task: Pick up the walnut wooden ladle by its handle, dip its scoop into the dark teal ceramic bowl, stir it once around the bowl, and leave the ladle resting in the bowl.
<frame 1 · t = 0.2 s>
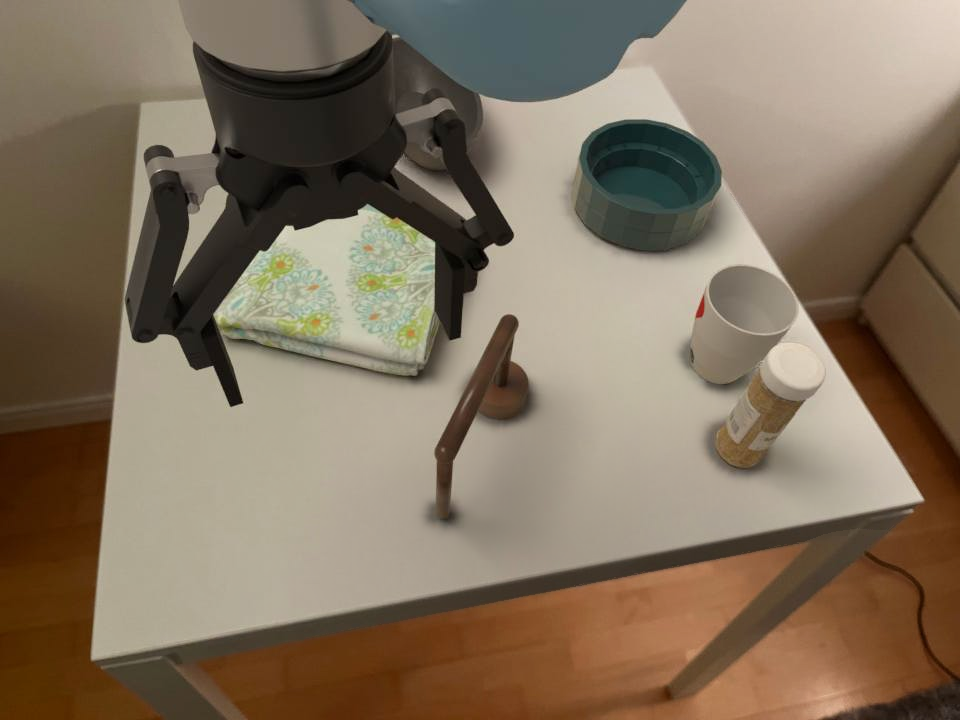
hand: (344, 354, 45), 21 cm above the table, tool pointing down, fingers open, 13 cm apart
towel: (351, 294, 76), on the table
ladle: (442, 514, 62), on the table
sprinkles bottle: (737, 448, 68), on the table
fruit: (251, 140, 88), on the table
cup: (715, 364, 73), on the table
mixing bowl: (637, 204, 86), on the table
bowl: (424, 134, 91), on the table
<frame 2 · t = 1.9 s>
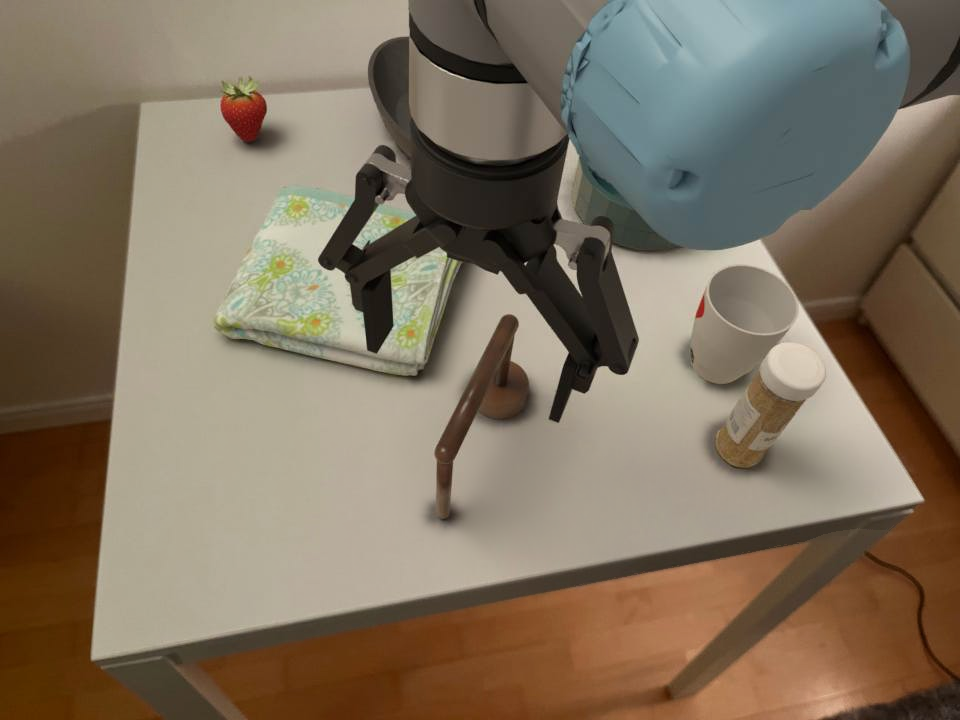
hand: (468, 371, 51), 16 cm above the table, tool pointing down, fingers open, 13 cm apart
nothing on the table moved.
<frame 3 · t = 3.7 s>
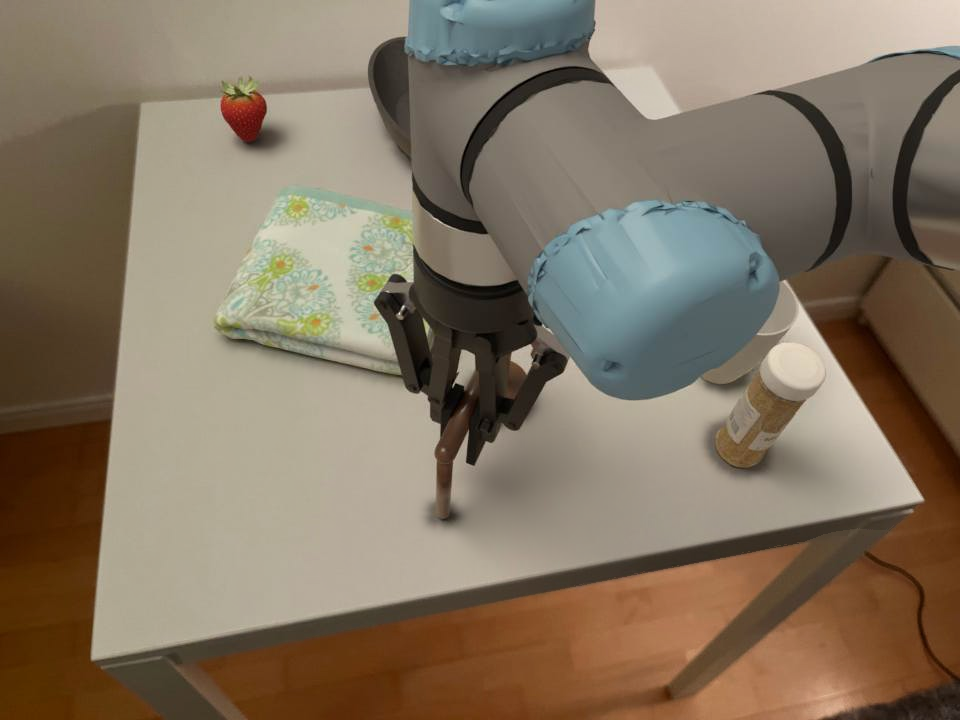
hand: (463, 445, 60), 5 cm above the table, tool pointing down, fingers closed on ladle, 2 cm apart
ladle: (442, 514, 62), on the table, touching gripper
everything else where it was.
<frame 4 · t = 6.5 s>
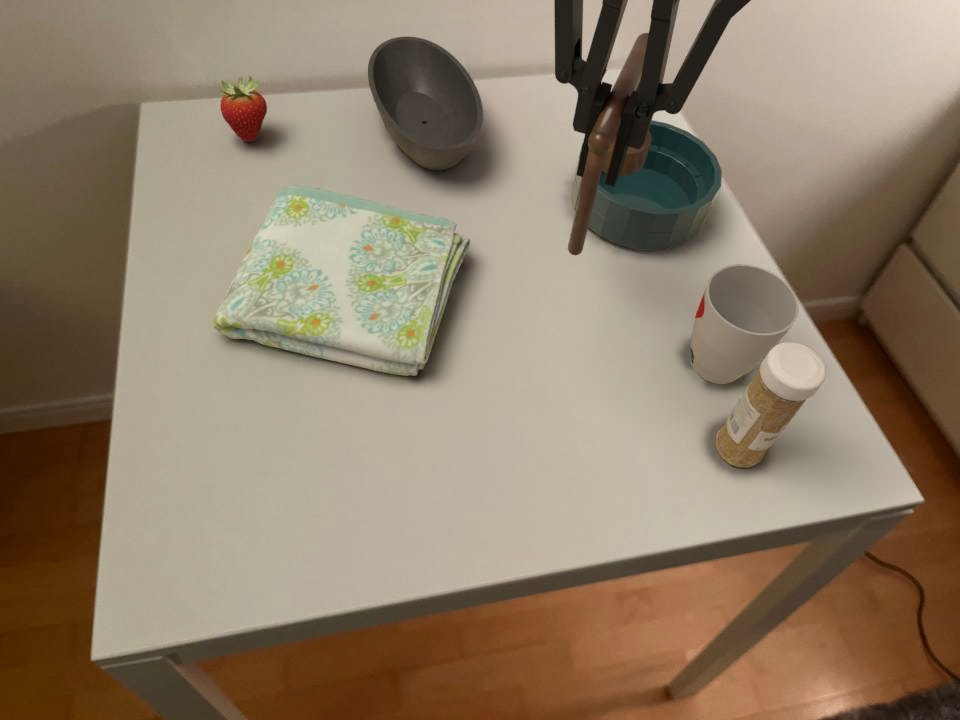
hand: (600, 169, 57), 21 cm above the table, tool pointing down, fingers closed on ladle, 2 cm apart
ladle: (574, 253, 59), point 15 cm above the table, touching gripper
everything else where it was.
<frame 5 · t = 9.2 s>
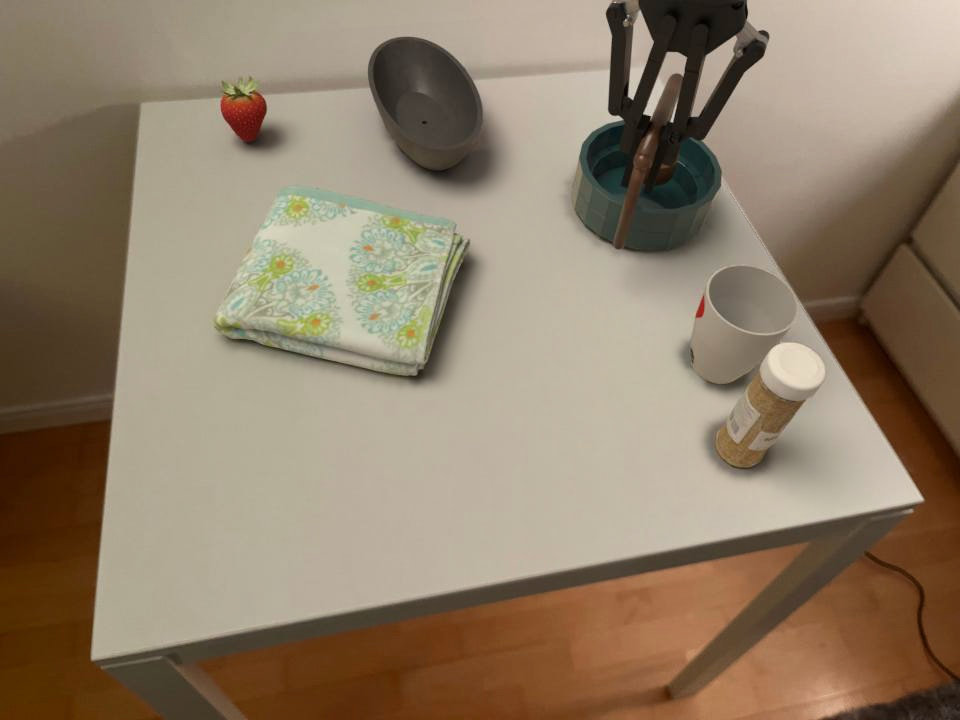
hand: (639, 181, 72), 11 cm above the table, tool pointing down, fingers closed on ladle, 2 cm apart
ladle: (617, 247, 74), point 5 cm above the table, touching gripper
everything else where it was.
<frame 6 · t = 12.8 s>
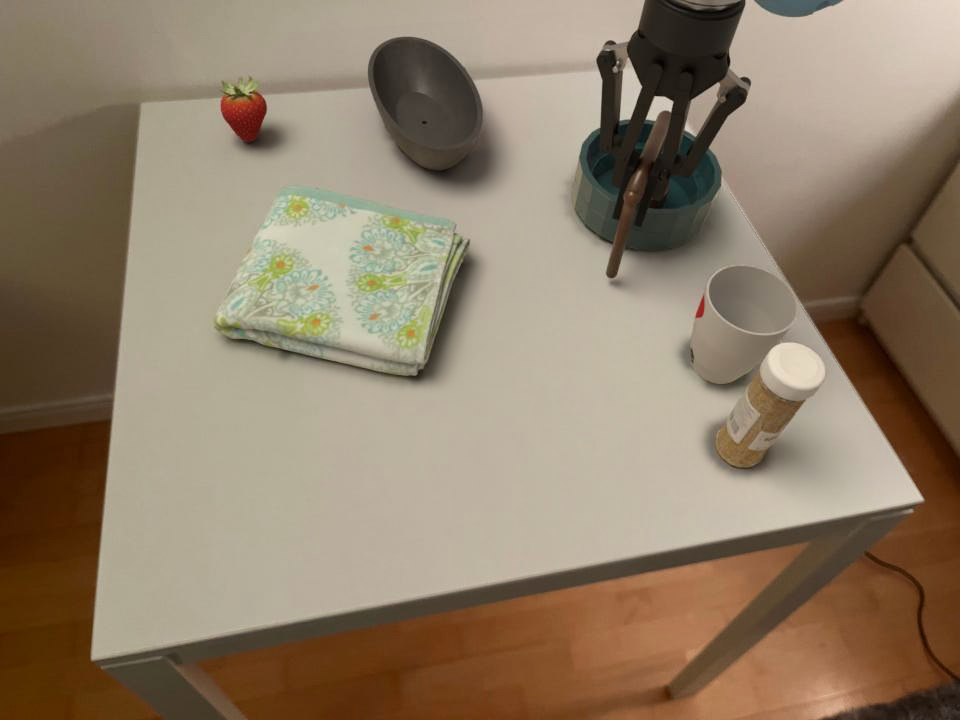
hand: (629, 214, 75), 6 cm above the table, tool pointing down, fingers closed on ladle, 2 cm apart
ladle: (610, 276, 78), point 1 cm above the table, touching gripper
everything else where it was.
when the fingers open (8 cm above the table, at t = 14.6 s): ladle drops 2 cm, resting on mixing bowl.
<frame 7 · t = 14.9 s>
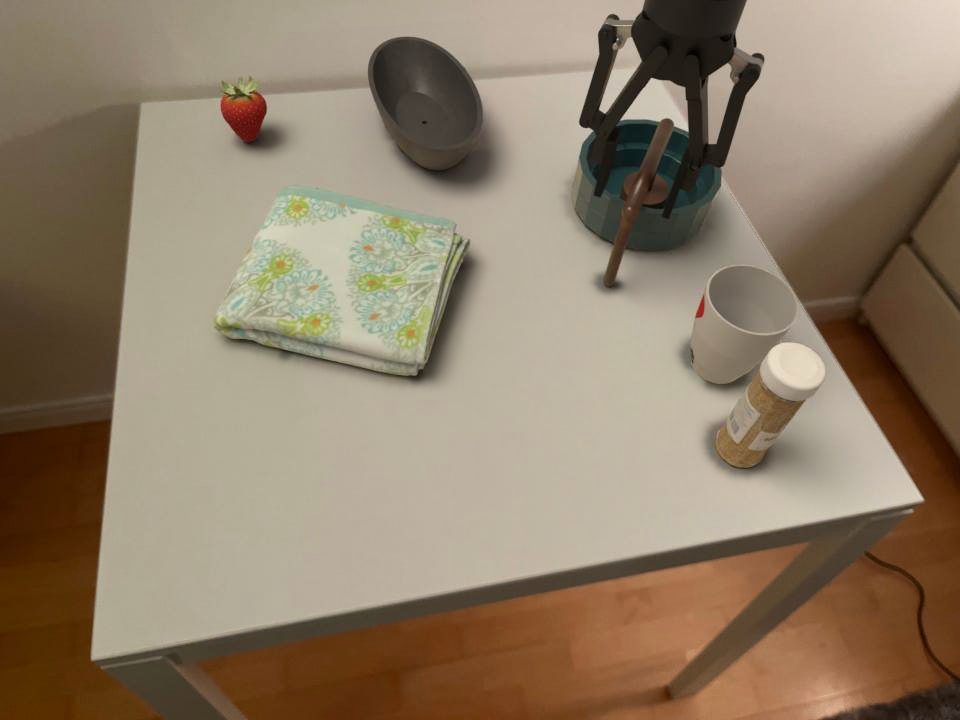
hand: (634, 198, 74), 8 cm above the table, tool pointing down, fingers open, 6 cm apart
ladle: (607, 284, 78), resting on mixing bowl
everything else where it was.
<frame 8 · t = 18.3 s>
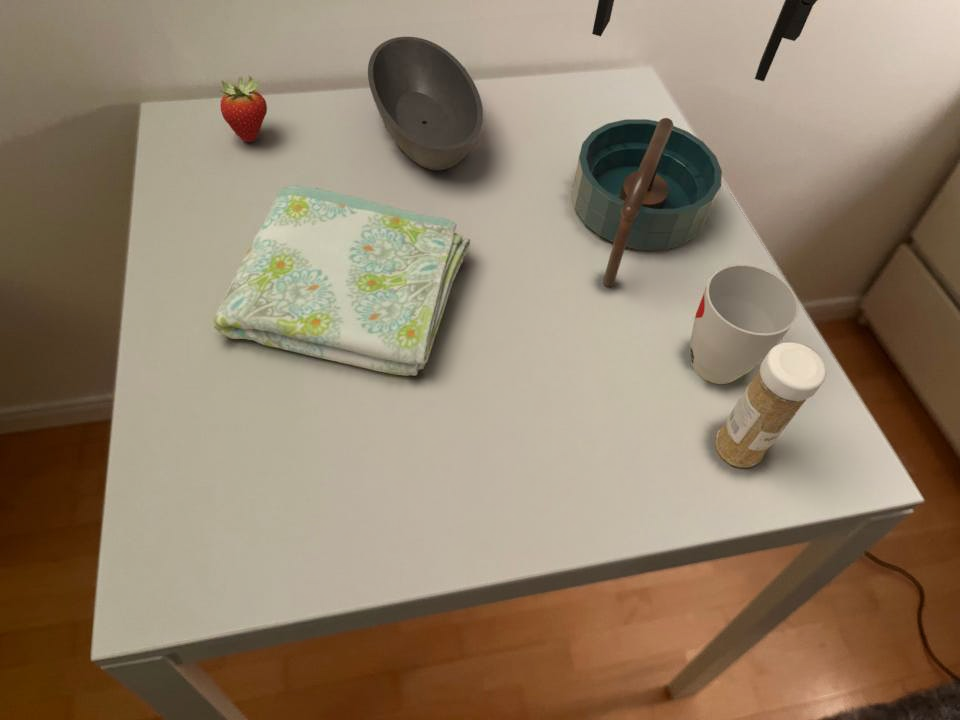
hand: (679, 49, 60), 25 cm above the table, tool pointing down, fingers open, 13 cm apart
nothing on the table moved.
at the end: ladle touching mixing bowl, table; ladle 13.3 cm from the mixing bowl (horizontally); the gripper is holding nothing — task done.
